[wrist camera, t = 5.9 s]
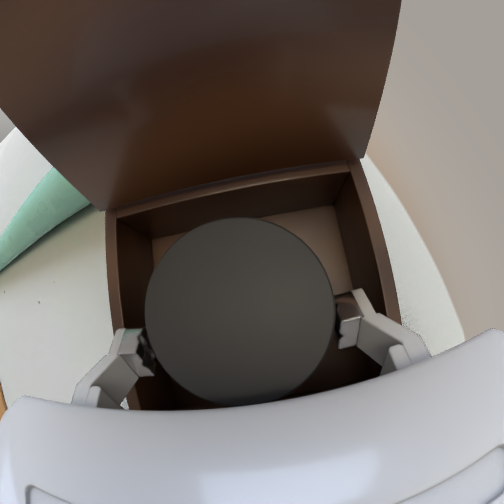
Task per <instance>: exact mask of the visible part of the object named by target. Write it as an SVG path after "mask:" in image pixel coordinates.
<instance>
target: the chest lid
mask: <svg viewBox="0 0 504 504" xmlns="http://www.w3.org/2000/svg"><path fill="white" fill-rule="evenodd" d="M400 7H401V0H0V108H1V109H2V111H3V112H4V113H5V114H6V115H7V116H8V118H9V119H10V120H11V121H12V122H13V124H14V125H15V126H16V127H17V128H18V129H19V130H20V131H21V133H22V134H23V135H24V136H25V137H26V138H27V139H28V140H29V141H30V143H31V144H32V145H33V146H34V147H35V148H36V149H37V150H38V151H39V152H40V153H41V154H42V155H43V156H44V157H45V158H46V160H47V161H48V162H49V163H50V164H51V165H52V166H53V167H54V168H55V169H56V170H57V171H58V172H59V173H60V174H61V175H62V176H63V177H64V178H65V179H66V180H67V181H68V182H69V183H70V184H71V185H72V186H73V187H74V188H75V189H77V190H78V191H79V192H80V193H81V194H82V195H83V196H84V197H85V198H86V199H87V200H88V201H89V202H90V203H91V204H92V205H93V206H94V207H96V208H97V209H98V210H99V211H100V212H101V211H105V210H108V209H111V208H115V207H118V206H121V205H125V204H128V203H132V202H135V201H139V200H142V199H146V198H150V197H153V196H157V195H161V194H165V193H169V192H173V191H177V190H181V189H185V188H189V187H193V186H198V185H202V184H207V183H211V182H216V181H220V180H225V179H230V178H235V177H240V176H245V175H250V174H256V173H261V172H267V171H273V170H278V169H285V168H291V167H297V166H304V165H311V164H318V163H326V162H333V161H342V160H350V159H360V158H364V155H365V152H366V149H367V146H368V142H369V139H370V135H371V132H372V129H373V126H374V122H375V119H376V115H377V111H378V108H379V104H380V101H381V97H382V93H383V89H384V85H385V81H386V77H387V72H388V68H389V64H390V60H391V55H392V50H393V46H394V41H395V36H396V30H397V25H398V18H399V13H400Z"/></svg>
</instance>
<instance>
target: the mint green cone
mask: <svg viewBox="0 0 504 504" xmlns="http://www.w3.org/2000/svg"><path fill="white" fill-rule="evenodd" d="M89 204H91V203H90V202H89V201H88V200H87V199H86V198H85V197H84V196H83V195H82V194H81V193H80V192H79V191H78V190H77V189H75V188H74V187H73V186H72V185H71V184H70V183H69V182H68V181H67V180H66V179H65V178H64V177H63V176H62V175H61V174H60V173H59V172H58V171H57V170H56V169H55V168H54V167H52V169H51V170H50V171H49V172H48V173H47V174H46V176H45V177H44V178H43V179H42V180H41V182H40V183H39V184H38V185H37V186H36V188H35V189H34V190H33V191H32V193H31V194H30V195H29V197H28V198H27V199H26V201H25V202H24V203H23V205H22V206H21V207H20V209H19V210H18V212H17V213H16V214H15V216H14V217H13V219H12V220H11V222H10V223H9V225H8V226H7V228H6V229H5V231H4V232H3V234H2V235H1V237H0V271H1V270H2V269H3V268H4V267H5V266H6V265H8V264H9V263H10V262H11V261H12V260H13V259H15V258H16V257H17V256H18V255H19V254H21V253H22V252H23V251H24V250H25V249H27V248H28V247H29V246H30V245H32V244H33V243H34V242H36V241H37V240H38V239H39V238H41V237H42V236H43V235H45V234H46V233H47V232H49V231H50V230H51V229H53V228H54V227H56V226H57V225H58V224H60V223H61V222H63V221H64V220H66V219H67V218H69V217H70V216H72V215H73V214H75V213H76V212H78V211H80V210H81V209H83V208H85V207H86V206H88V205H89Z"/></svg>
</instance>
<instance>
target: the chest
mask: <svg viewBox="0 0 504 504" xmlns="http://www.w3.org/2000/svg"><path fill="white" fill-rule="evenodd" d="M228 217H250V218H258V219H262V220H266V221H269V222H272V223H274V224H277V225H279V226H282V227H283V228H285V229H287V230H289V231H290V232H292V233H294V234H295V235H296V236H298V237H299V238H300V239H302V240H303V241H304V242H305V243H306V244H307V245H308V246H309V247H310V248H311V249H312V251H313V252H314V253H315V254H316V256H317V257H318V258H319V260H320V261H321V263H322V265H323V267H324V268H325V270H326V272H327V275H328V277H329V280H330V282H331V286H332V290H333V293H334V295H335V294H339V293H343V292H347V291H352V290H356V289H360V288H361V289H363V291H364V292H365V294H366V296H367V298H368V300H369V301H370V303H371V305H372V307H373V309H374V311H375V312H376V314H377V313H380V314H382V315H384V316H386V317H387V318H389V319H391V320H393V321H395V322H396V323H398V324H400V325H402V322H401V316H400V310H399V304H398V298H397V293H396V287H395V282H394V278H393V273H392V268H391V264H390V259H389V255H388V251H387V247H386V243H385V239H384V235H383V232H382V228H381V224H380V221H379V217H378V214H377V210H376V207H375V204H374V201H373V197H372V194H371V191H370V188H369V185H368V182H367V179H366V176H365V174H364V171H363V168H362V165H361V162H360V160H359V159H350V160H342V161H333V162H326V163H318V164H311V165H304V166H297V167H291V168H285V169H278V170H273V171H267V172H261V173H256V174H250V175H245V176H240V177H235V178H230V179H225V180H220V181H216V182H211V183H207V184H202V185H198V186H193V187H189V188H185V189H181V190H177V191H173V192H169V193H165V194H161V195H157V196H153V197H150V198H146V199H142V200H139V201H135V202H132V203H128V204H125V205H121V206H118V207H115V208H111V209H108V210H106V217H105V232H106V263H107V279H108V291H109V301H110V310H111V319H112V326H113V333H114V335H115V332H116V330H117V329H121V328H132V327H146V324H145V299H146V293H147V288H148V285H149V281H150V278H151V276H152V274H153V271H154V269H155V267H156V265H157V264H158V262H159V260H160V259H161V257H162V256H163V255H164V253H165V252H166V251H167V250H168V248H169V247H170V246H171V245H172V244H173V243H174V242H175V241H177V240H178V239H179V238H180V237H182V236H183V235H184V234H186V233H187V232H189V231H190V230H192V229H194V228H196V227H197V226H200V225H202V224H205V223H207V222H210V221H213V220H217V219H221V218H228ZM154 362H155V364H156V368H155V374H154V376H147V377H139V378H138V380H137V381H136V383H135V384H134V385H133V387H132V388H131V390H130V391H129V392H128V394H127V395H126V398H127V402H128V406H129V410H145V411H181V410H204V409H218V408H229V407H235V406H225V405H220V404H216V403H213V402H210V401H207V400H204V399H202V398H200V397H198V396H196V395H194V394H192V393H190V392H189V391H187V390H186V389H184V388H183V387H181V386H180V385H179V384H178V383H177V382H176V381H175V380H174V379H172V377H171V376H170V375H169V374H168V373H167V372H166V371H165V369H164V368H163V367H162V365H161V364H160V362H159V361H158V359H157V358H156V359H155V360H154ZM381 370H382V366H381V365H380V364H378V363H377V362H376V361H375V360H373V359H372V358H371V357H370V356H368V355H367V354H366V353H365V352H363V351H362V350H361V349H360V348H358V347H357V345H355V346H351V347H347V348H343V349H338V347H337V344H336V342H335V339H334V331H333V336H332V339H331V342H330V346H329V348H328V350H327V352H326V354H325V357H324V358H323V360H322V362H321V363H320V365H319V366H318V368H317V369H316V370H315V372H314V373H313V374H312V375H311V376H310V377H309V379H307V380H306V381H305V382H304V383H303V384H302V385H301V386H300V387H298V388H297V389H295V390H294V391H292V392H291V393H289V394H288V395H286V396H284V397H282V398H280V399H277V400H275V401H281V400H287V399H292V398H298V397H303V396H307V395H312V394H317V393H321V392H325V391H329V390H334V389H337V388H341V387H345V386H349V385H352V384H356V383H359V382H363V381H366V380H369V379H373V378H376V377H379V375H380V373H381ZM275 401H272V402H275Z"/></svg>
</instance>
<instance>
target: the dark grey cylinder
mask: <svg viewBox="0 0 504 504" xmlns="http://www.w3.org/2000/svg"><path fill="white" fill-rule="evenodd" d="M145 324H146V330H147V334H148V338H149V341H150V344H151V347H152V349H153V351H154V353H155V355H156V357H157V359H158V361H159V362H160V364H161V365H162V367H163V368H164V369H165V371H166V372H167V373H168V374H169V375H170V376H171V377H172V379H174V380H175V381H176V382H177V383H178V384H179V385H180V386H181V387H183V388H184V389H186V390H187V391H189V392H190V393H192V394H194V395H196V396H198V397H200V398H202V399H204V400H207V401H210V402H213V403H216V404H220V405H225V406H235V407H239V406H247V405H255V404H262V403H269V402H272V401H275V400H277V399H280V398H282V397H284V396H286V395H288V394H289V393H291V392H292V391H294V390H295V389H297V388H298V387H300V386H301V385H302V384H303V383H304V382H305V381H306V380H307V379H309V377H310V376H311V375H312V374H313V373H314V372H315V370H316V369H317V368H318V366H319V365H320V363H321V362H322V360H323V358H324V357H325V354H326V352H327V350H328V348H329V346H330V342H331V339H332V336H333V331H334V325H335V300H334V293H333V290H332V286H331V282H330V280H329V277H328V275H327V272H326V270H325V268H324V267H323V265H322V263H321V261H320V260H319V258H318V257H317V256H316V254H315V253H314V252H313V251H312V249H311V248H310V247H309V246H308V245H307V244H306V243H305V242H304V241H303V240H302V239H300V238H299V237H298V236H296V235H295V234H294V233H292V232H290V231H289V230H287V229H285V228H283V227H282V226H279V225H277V224H274V223H272V222H269V221H266V220H262V219H258V218H250V217H228V218H221V219H217V220H213V221H210V222H207V223H205V224H202V225H200V226H197V227H196V228H194V229H192V230H190V231H189V232H187V233H186V234H184V235H183V236H182V237H180V238H179V239H178V240H177V241H175V242H174V243H173V244H172V245H171V246H170V247H169V248H168V250H167V251H166V252H165V253H164V255H163V256H162V257H161V259H160V260H159V262H158V264H157V265H156V267H155V269H154V271H153V274H152V276H151V278H150V281H149V285H148V288H147V293H146V299H145Z"/></svg>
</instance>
